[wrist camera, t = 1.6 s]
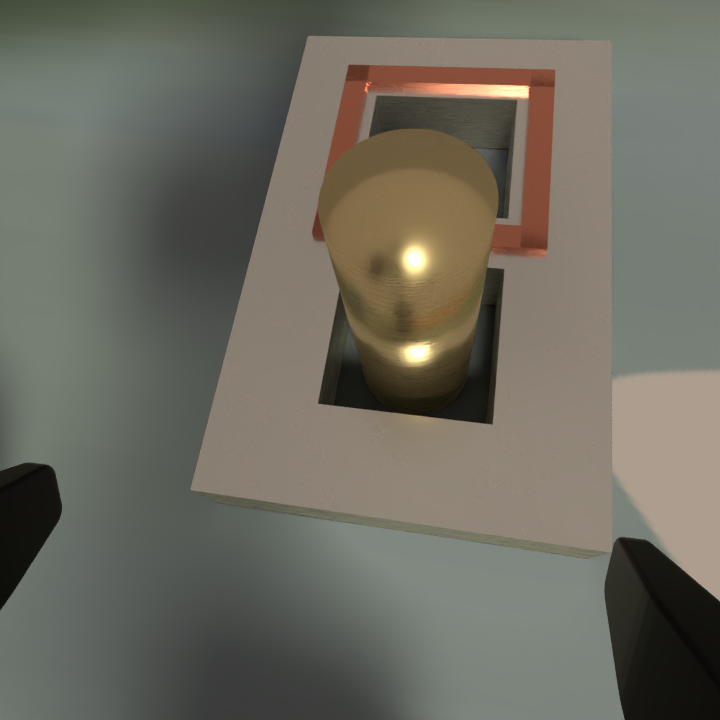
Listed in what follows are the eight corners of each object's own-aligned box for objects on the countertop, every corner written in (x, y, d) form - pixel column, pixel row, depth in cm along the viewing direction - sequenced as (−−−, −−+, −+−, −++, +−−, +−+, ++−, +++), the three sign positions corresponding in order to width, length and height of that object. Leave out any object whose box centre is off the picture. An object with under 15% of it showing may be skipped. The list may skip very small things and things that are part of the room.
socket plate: (587, 558, 21) (615, 551, 18) (218, 502, 23) (186, 488, 20) (593, 94, 29) (613, 34, 26) (318, 86, 31) (307, 30, 28)
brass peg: (490, 357, 24) (536, 183, 14) (422, 436, 23) (418, 312, 13) (409, 299, 25) (396, 103, 15) (342, 371, 25) (281, 212, 14)
